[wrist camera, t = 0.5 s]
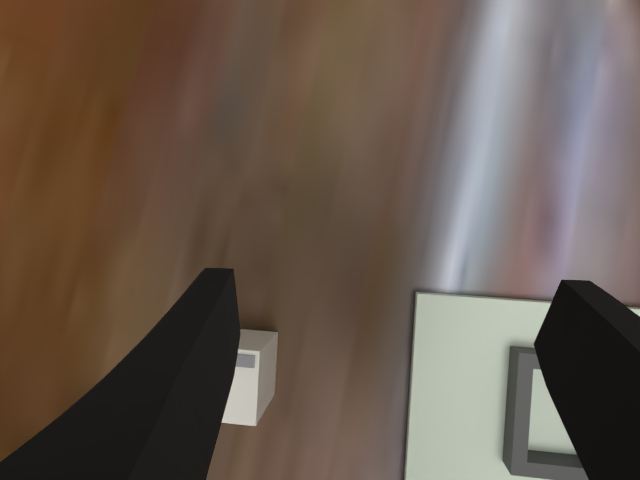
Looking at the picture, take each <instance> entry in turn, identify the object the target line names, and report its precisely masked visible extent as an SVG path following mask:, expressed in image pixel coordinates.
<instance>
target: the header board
mask: <svg viewBox="0 0 640 480" xmlns="http://www.w3.org/2000/svg"><path fill="white" fill-rule="evenodd" d="M551 303H552V301H542V300H527V299H513V298H499V297H485V296H471V295H457V294H443V293H429V292H416V295H415V311H414V327H413V343H412V359H411V375H410V391H409V408H408V424H407V440H406V456H405V472H404V480H589V479H588V477H587V475H586V473H585V471H584V468H583V466H582V464H581V462H580V460H579V458H578V455H577V453H576V451H575V449H574V447H573V445H572V442H571V440H570V438H569V436H568V434H567V432H566V429H565V427H564V425H563V423H562V421H561V419H560V416H559V414H558V412H557V410H556V407H555V405H554V403H553V401H552V399H551V396H550V394H549V392H548V389H547V387H546V384H545V381H544V378H543V375H542V372H541V369H540V365H539V362H538V358H537V355H536V351H535V347H534V342H535V339H536V337H537V335H538V333H539V330H540V328H541V326H542V323H543V321H544V319H545V316H546V314H547V312H548V310H549V307H550V305H551ZM628 308H629V309H630V310H632V311H633V312H634V313H636V314H637V315H638V316H640V307H628Z"/></svg>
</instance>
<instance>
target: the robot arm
mask: <svg viewBox="0 0 640 480" xmlns="http://www.w3.org/2000/svg"><path fill="white" fill-rule="evenodd" d="M239 341H240V324H239V315H238V306H237V297H236V287H235V278H234V269H223V268H205V269H204V270H203V271H202V272H201V273H200V274H199V275H198V277H197V278H196V279H195V280H194V281H193V283H192V284H191V285H190V286H189V288H188V289H187V290H186V291H185V292H184V294H183V295H182V296H181V297H180V298H179V299H178V301H177V302H176V303H175V304H174V305H173V306H172V308H171V309H170V310H169V311H168V312H167V313H166V314H165V315H164V317H163V318H162V319H161V320H160V321H159V322H158V323H157V324H156V325H155V326H154V328H153V329H152V330H151V331H150V332H149V333H148V334H147V335H146V336H145V337H144V338H143V339H142V341H141V342H140V343H139V344H138V345H137V346H136V347H135V348H134V349H133V350H132V351H131V352H130V353H129V354H128V355H127V356H126V357H125V358H124V359H123V360H122V361H120V362H119V363H118V364H117V365H116V366H115V367H114V368H113V369H112V370H111V371H110V372H109V373H108V374H107V375H106V376H105V377H104V378H103V379H102V380H101V381H100V382H99V383H97V384H96V385H95V386H94V387H93V388H92V389H91V390H90V391H89V392H87V393H86V394H85V395H84V396H83V397H82V398H81V399H79V400H78V401H77V402H76V403H75V404H74V405H72V406H71V407H70V408H69V409H68V410H67V411H65V412H64V413H63V414H62V415H61V416H59V417H58V418H57V419H55V420H54V421H53V422H52V423H50V424H49V425H48V426H47V427H45V428H44V429H43V430H42V431H40V432H39V433H38V434H37V435H35V436H34V437H33V438H32V439H30V440H29V441H28V442H26V443H25V444H24V445H22V446H21V447H20V448H18V449H17V450H16V451H15V452H13V453H12V454H11V455H9V456H8V457H6V458H5V459H4V460H2V461H1V462H0V480H206V477H207V473H208V469H209V466H210V462H211V459H212V455H213V451H214V448H215V444H216V440H217V437H218V433H219V430H220V426H221V422H222V419H223V415H224V412H225V408H226V404H227V401H228V397H229V393H230V390H231V386H232V382H233V378H234V374H235V367H236V361H237V355H238V348H239ZM534 347H535V351H536V355H537V358H538V362H539V365H540V369H541V372H542V375H543V378H544V381H545V384H546V387H547V389H548V392H549V394H550V396H551V399H552V401H553V403H554V405H555V407H556V410H557V412H558V414H559V416H560V419H561V421H562V423H563V425H564V427H565V429H566V432H567V434H568V436H569V438H570V440H571V442H572V445H573V447H574V449H575V451H576V453H577V455H578V458H579V460H580V462H581V464H582V466H583V468H584V471H585V473H586V475H587V477H588V479H589V480H640V316H638V315H637V314H636V313H634V312H633V311H632V310H630V309H629V308H628V307H626V306H625V305H624V304H622V303H621V302H619V301H618V300H617V299H615V298H614V297H613V296H611V295H610V294H608V293H607V292H606V291H604V290H603V289H601V288H600V287H598V286H597V285H595V284H594V283H592V282H591V281H583V280H561V282H560V284H559V287H558V289H557V291H556V294H555V296H554V298H553V300H552V303H551V305H550V307H549V310H548V312H547V314H546V316H545V319H544V321H543V323H542V326H541V328H540V330H539V333H538V335H537V337H536V339H535V342H534Z"/></svg>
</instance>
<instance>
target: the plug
mask: <svg viewBox="0 0 640 480" xmlns="http://www.w3.org/2000/svg"><path fill="white" fill-rule="evenodd" d="M277 343H278V332H270V331H259V330H247V329H241V330H240V341H239V348H238V355H237V361H236V367H235V374H234V378H233V382H232V386H231V390H230V393H229V397H228V401H227V404H226V408H225V412H224V415H223V419H222V422H221V423H230V424H240V425H249V426H256V425H257V423H258V421H259V420H260V418H261V416H262V415H263V413H264V411H265V410H266V408H267V406H268V405H269V403H270V401H271V400H272V398H273V396H274V395H275V378H276V360H277Z"/></svg>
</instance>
